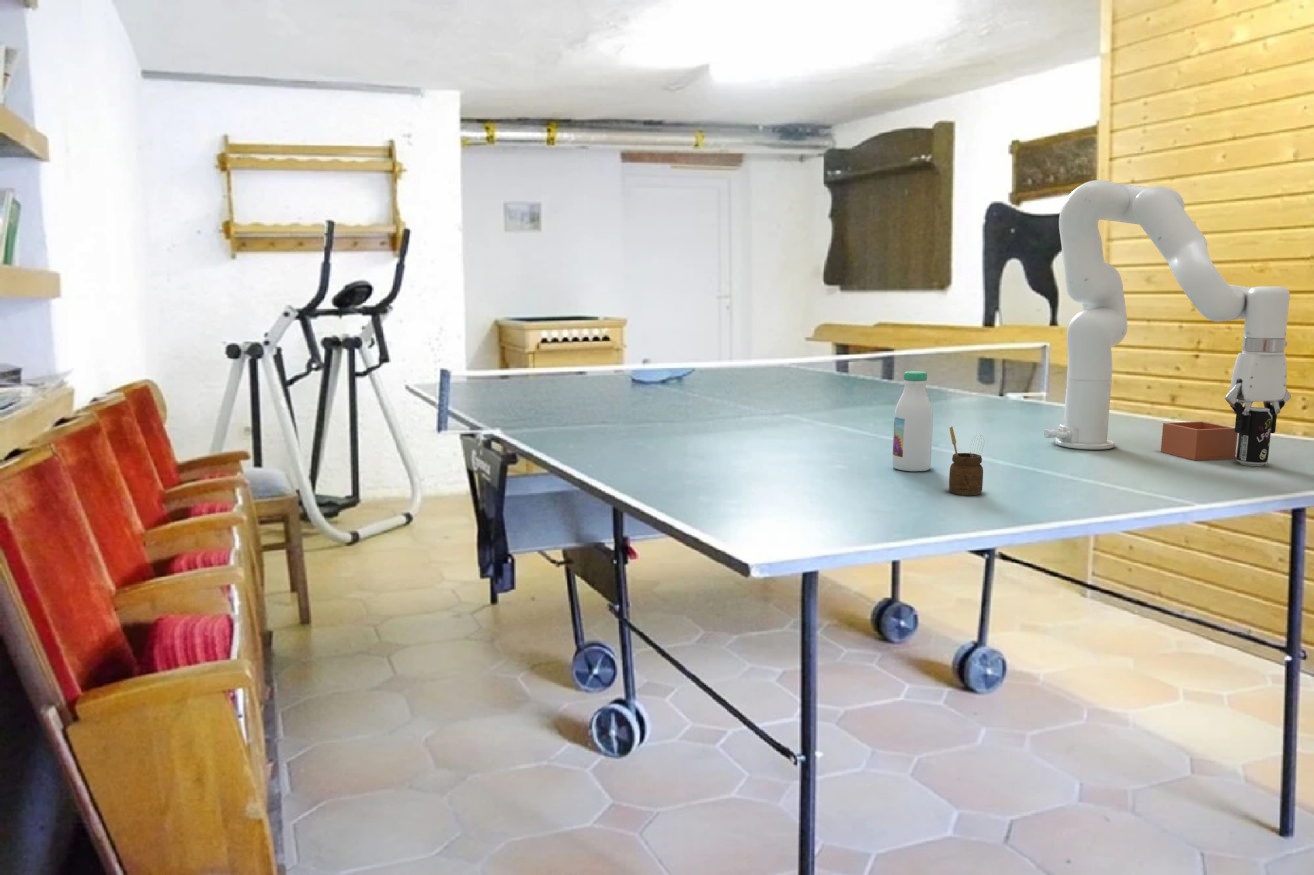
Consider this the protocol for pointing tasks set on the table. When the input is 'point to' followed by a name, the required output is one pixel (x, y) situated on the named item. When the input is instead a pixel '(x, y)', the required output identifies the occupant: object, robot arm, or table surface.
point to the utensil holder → (965, 471)
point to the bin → (1199, 440)
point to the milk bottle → (913, 425)
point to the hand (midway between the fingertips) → (1254, 432)
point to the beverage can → (1255, 438)
